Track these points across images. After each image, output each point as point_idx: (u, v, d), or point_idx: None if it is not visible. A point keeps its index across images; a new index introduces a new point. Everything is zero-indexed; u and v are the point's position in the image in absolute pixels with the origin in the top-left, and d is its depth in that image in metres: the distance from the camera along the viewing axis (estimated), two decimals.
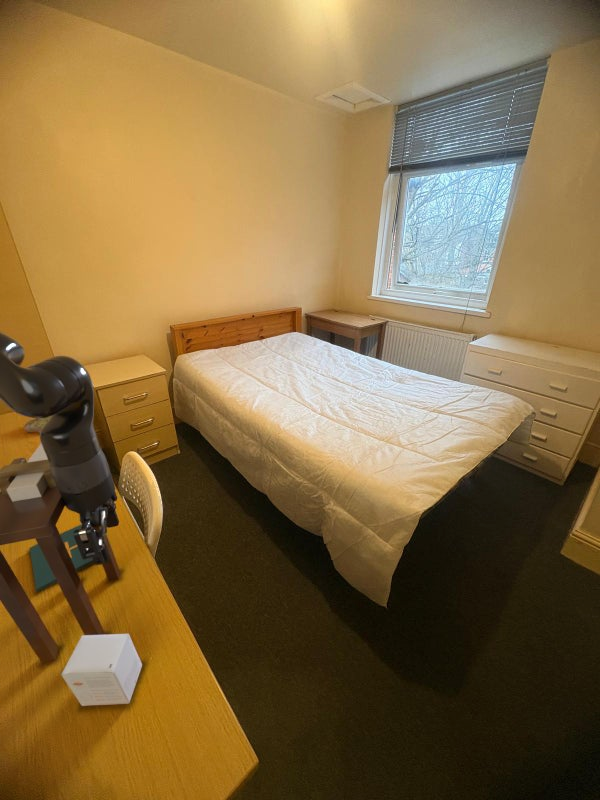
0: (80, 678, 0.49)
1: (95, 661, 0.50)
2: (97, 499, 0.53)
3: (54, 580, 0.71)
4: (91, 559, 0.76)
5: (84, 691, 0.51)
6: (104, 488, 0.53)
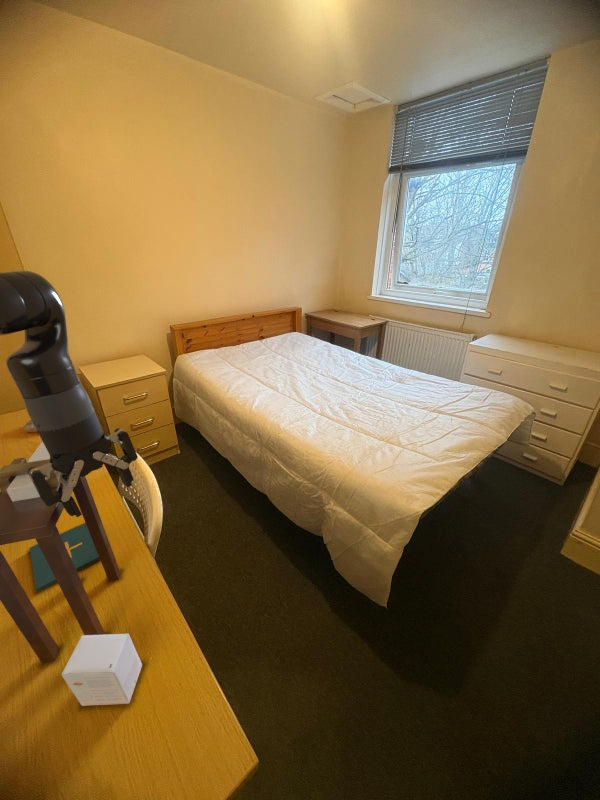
0: (80, 678, 0.49)
1: (95, 661, 0.50)
2: (53, 446, 0.45)
3: (54, 580, 0.71)
4: (91, 559, 0.76)
5: (84, 691, 0.51)
6: (62, 437, 0.45)
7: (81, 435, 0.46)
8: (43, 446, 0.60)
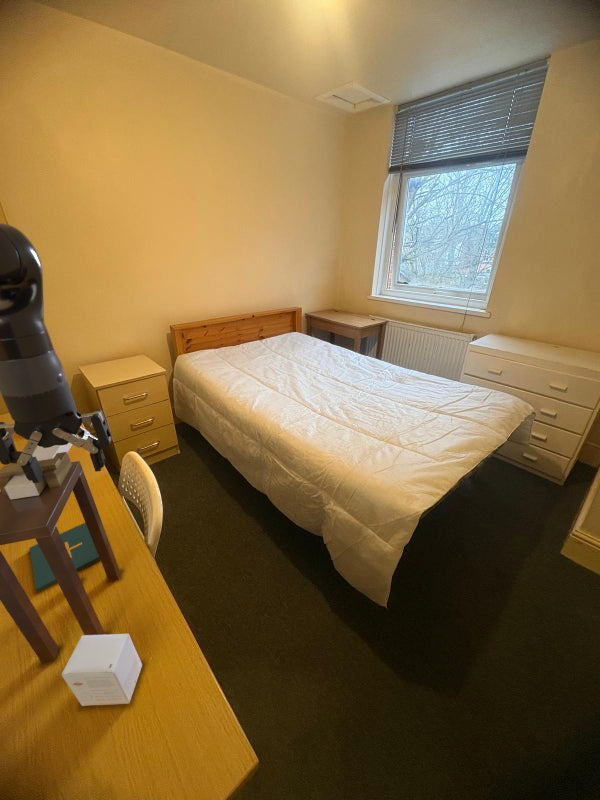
0: (80, 678, 0.49)
1: (95, 661, 0.50)
2: (9, 411, 0.44)
3: (54, 580, 0.71)
4: (91, 559, 0.76)
5: (84, 691, 0.51)
6: (12, 406, 0.42)
7: (31, 409, 0.43)
8: None
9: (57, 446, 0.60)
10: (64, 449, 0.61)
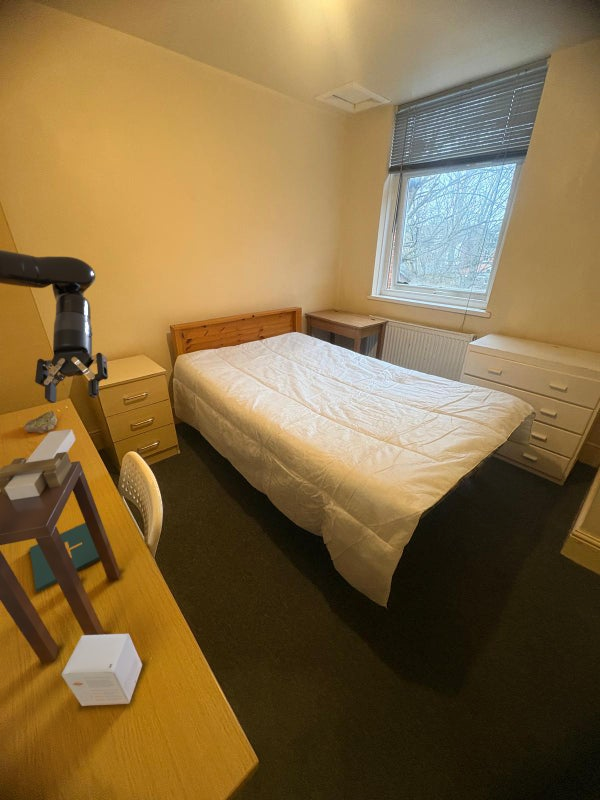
0: (80, 678, 0.49)
1: (95, 661, 0.50)
2: None
3: (54, 580, 0.71)
4: (91, 559, 0.76)
5: (84, 691, 0.51)
6: None
7: None
8: (43, 445, 0.60)
9: (57, 446, 0.60)
10: (64, 448, 0.61)
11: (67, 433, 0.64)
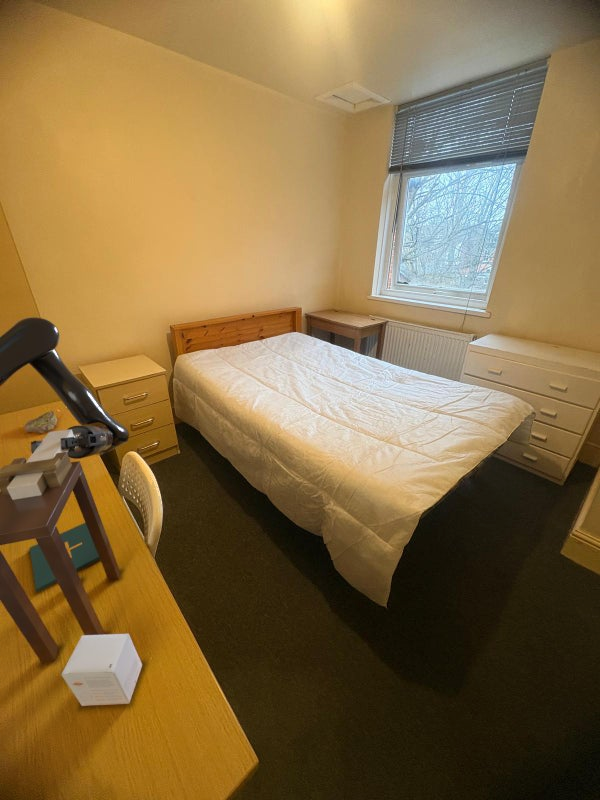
0: (80, 678, 0.49)
1: (95, 661, 0.50)
2: (96, 448, 0.74)
3: (54, 580, 0.71)
4: (91, 559, 0.76)
5: (84, 691, 0.51)
6: (93, 453, 0.75)
7: None
8: (43, 445, 0.60)
9: (57, 446, 0.60)
10: None
11: (67, 433, 0.64)
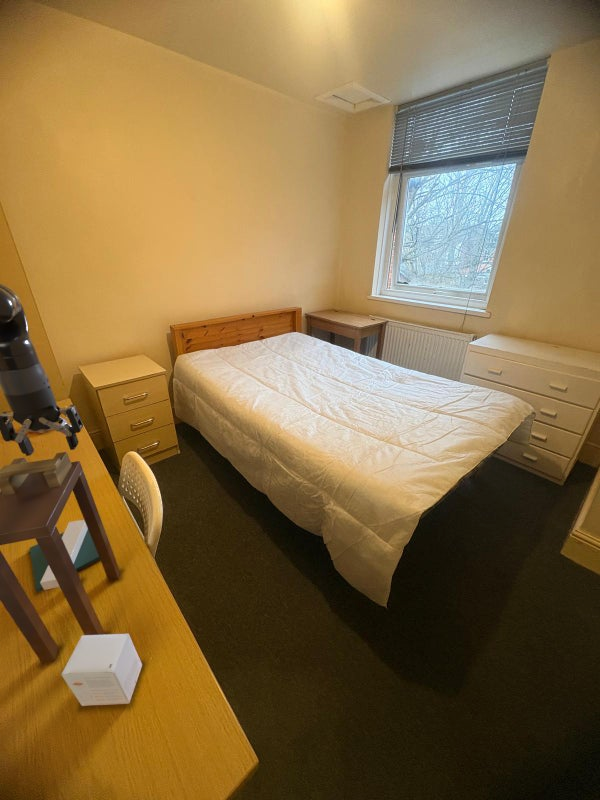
0: (80, 678, 0.49)
1: (95, 661, 0.50)
2: None
3: None
4: (91, 559, 0.76)
5: (84, 691, 0.51)
6: None
7: None
8: (65, 537, 0.78)
9: (76, 538, 0.78)
10: (80, 538, 0.80)
11: (83, 523, 0.82)
